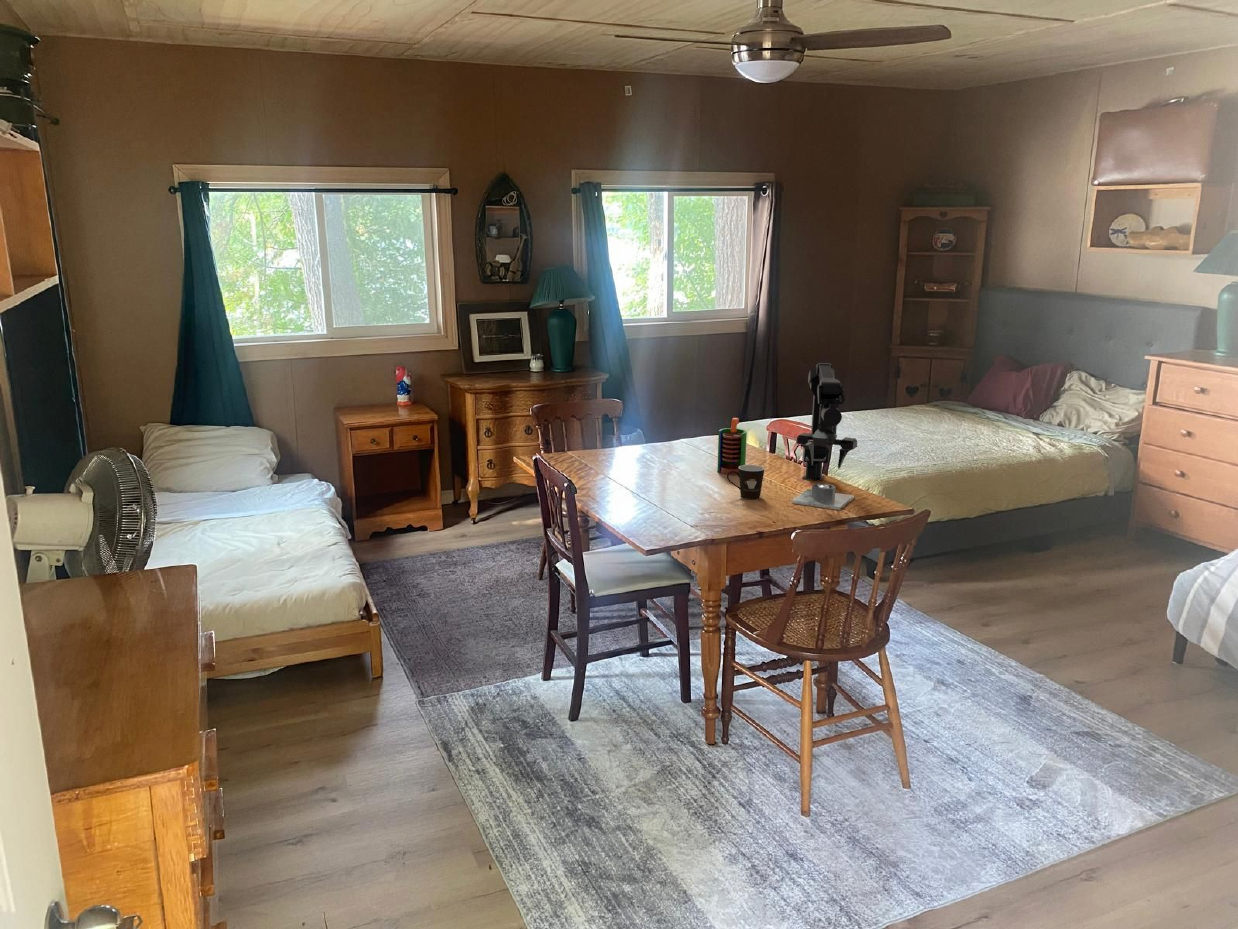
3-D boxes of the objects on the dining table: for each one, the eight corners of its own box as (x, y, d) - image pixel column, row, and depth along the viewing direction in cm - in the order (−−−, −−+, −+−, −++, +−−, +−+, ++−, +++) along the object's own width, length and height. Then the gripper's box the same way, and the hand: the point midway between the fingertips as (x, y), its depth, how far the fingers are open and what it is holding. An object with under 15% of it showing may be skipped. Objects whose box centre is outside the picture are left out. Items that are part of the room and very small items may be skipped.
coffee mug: (767, 495, 317) (768, 467, 314) (757, 501, 310) (758, 472, 307) (735, 490, 322) (736, 462, 320) (724, 496, 315) (726, 467, 313)
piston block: (807, 491, 322) (808, 477, 321) (853, 498, 314) (854, 483, 313) (791, 503, 308) (792, 488, 307) (839, 510, 301) (840, 495, 300)
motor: (716, 474, 345) (717, 420, 340) (719, 468, 353) (721, 416, 348) (743, 476, 342) (746, 422, 338) (746, 470, 351) (748, 417, 346)
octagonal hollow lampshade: (816, 493, 316) (816, 482, 315) (836, 496, 312) (837, 485, 311) (809, 498, 310) (810, 487, 309) (830, 501, 306) (831, 490, 306)
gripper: (792, 421, 302) (789, 468, 306) (849, 427, 294) (846, 475, 297) (803, 415, 312) (800, 461, 316) (859, 421, 303) (856, 468, 307)
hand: (825, 466), depth 308 cm, fingers open, 9 cm apart
